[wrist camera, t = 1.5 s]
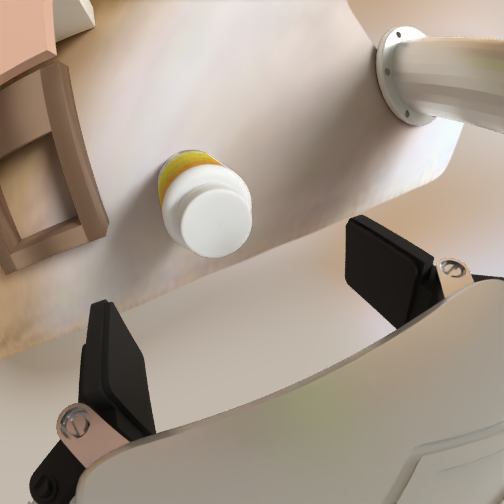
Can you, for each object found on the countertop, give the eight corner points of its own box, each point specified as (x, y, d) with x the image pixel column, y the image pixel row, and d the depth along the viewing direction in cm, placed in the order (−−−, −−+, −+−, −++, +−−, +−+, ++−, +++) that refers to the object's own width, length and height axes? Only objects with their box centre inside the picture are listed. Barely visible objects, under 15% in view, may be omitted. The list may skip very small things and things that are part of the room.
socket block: (68, 66, 15) (57, 60, 13) (109, 222, 23) (105, 236, 20) (-30, 120, 13) (-47, 123, 11) (16, 258, 20) (6, 274, 18)
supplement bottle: (144, 190, 23) (143, 241, 14) (184, 135, 22) (209, 151, 13) (195, 223, 26) (225, 286, 17) (234, 173, 25) (285, 212, 16)
